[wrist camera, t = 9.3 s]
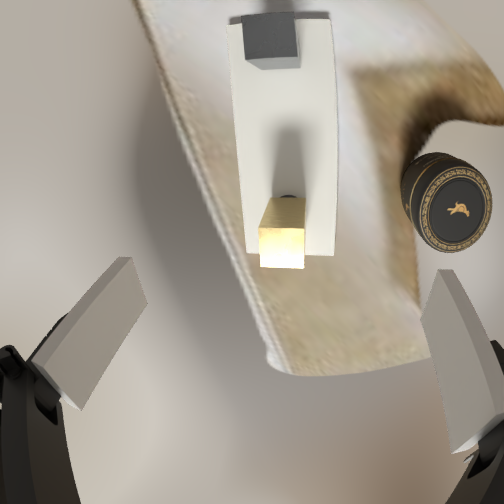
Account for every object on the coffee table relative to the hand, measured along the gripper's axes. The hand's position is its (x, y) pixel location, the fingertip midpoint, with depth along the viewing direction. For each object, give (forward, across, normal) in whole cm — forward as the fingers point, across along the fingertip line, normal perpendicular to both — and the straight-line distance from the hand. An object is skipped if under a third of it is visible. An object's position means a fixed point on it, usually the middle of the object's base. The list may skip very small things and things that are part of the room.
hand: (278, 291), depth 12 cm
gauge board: (+24, -1, +2) cm, 24 cm away
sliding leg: (+22, -1, -6) cm, 22 cm away
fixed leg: (+22, -1, +12) cm, 25 cm away
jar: (+24, +17, -3) cm, 29 cm away
